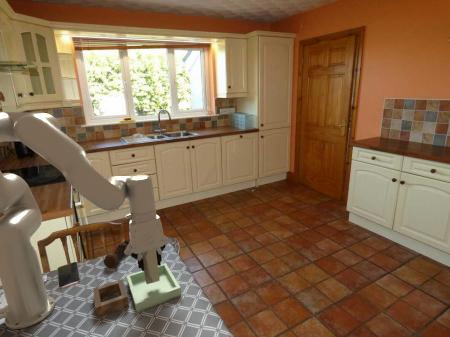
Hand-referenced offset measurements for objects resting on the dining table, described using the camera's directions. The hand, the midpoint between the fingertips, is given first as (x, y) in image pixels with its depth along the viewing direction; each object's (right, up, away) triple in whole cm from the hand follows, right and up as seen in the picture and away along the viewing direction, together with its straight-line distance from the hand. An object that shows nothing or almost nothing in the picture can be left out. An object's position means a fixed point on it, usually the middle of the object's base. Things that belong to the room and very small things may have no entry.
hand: (150, 265), depth 90 cm
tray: (0, -8, +2) cm, 9 cm away
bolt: (-18, -5, +23) cm, 29 cm away
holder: (-12, -10, -3) cm, 16 cm away
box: (0, -5, +1) cm, 5 cm away
